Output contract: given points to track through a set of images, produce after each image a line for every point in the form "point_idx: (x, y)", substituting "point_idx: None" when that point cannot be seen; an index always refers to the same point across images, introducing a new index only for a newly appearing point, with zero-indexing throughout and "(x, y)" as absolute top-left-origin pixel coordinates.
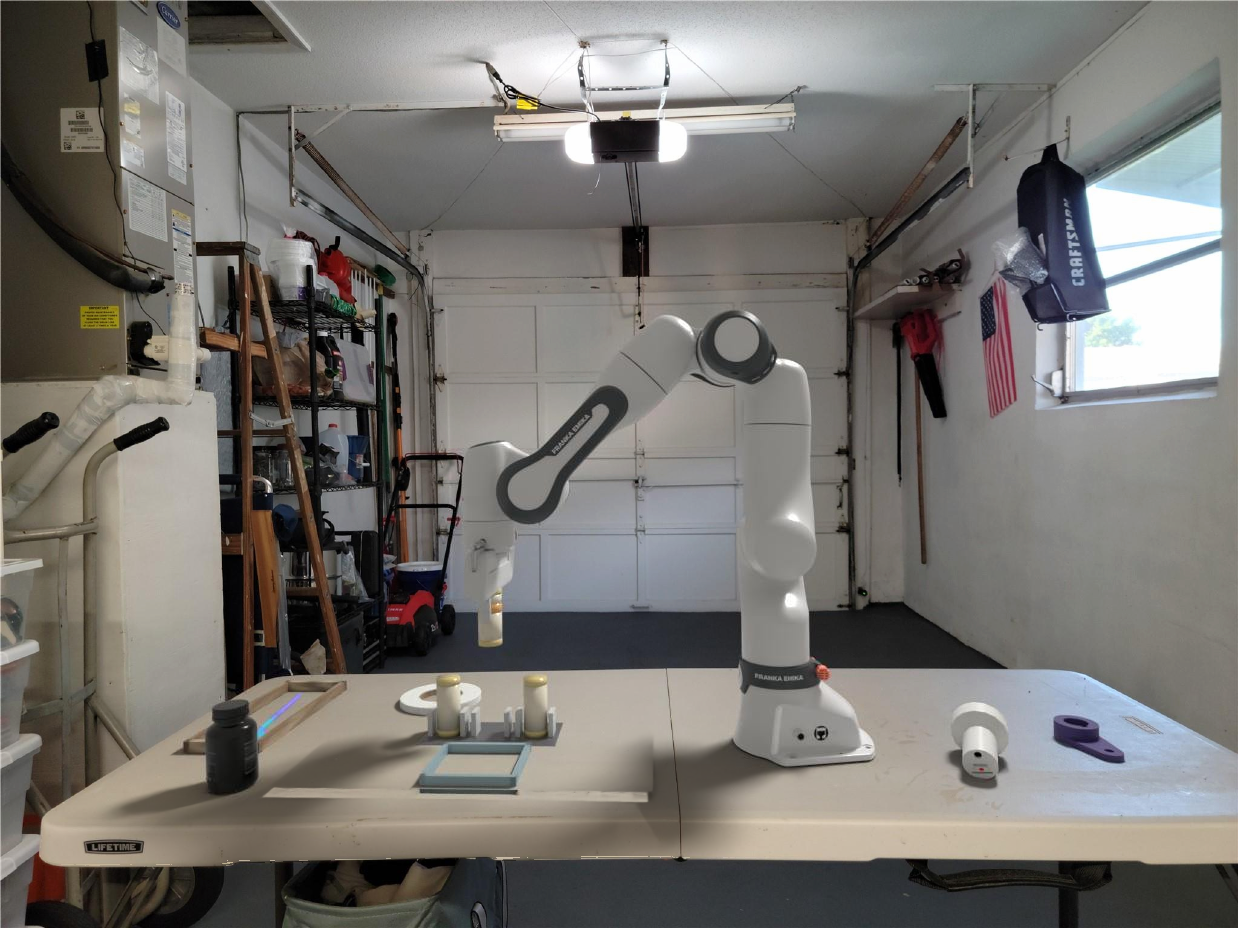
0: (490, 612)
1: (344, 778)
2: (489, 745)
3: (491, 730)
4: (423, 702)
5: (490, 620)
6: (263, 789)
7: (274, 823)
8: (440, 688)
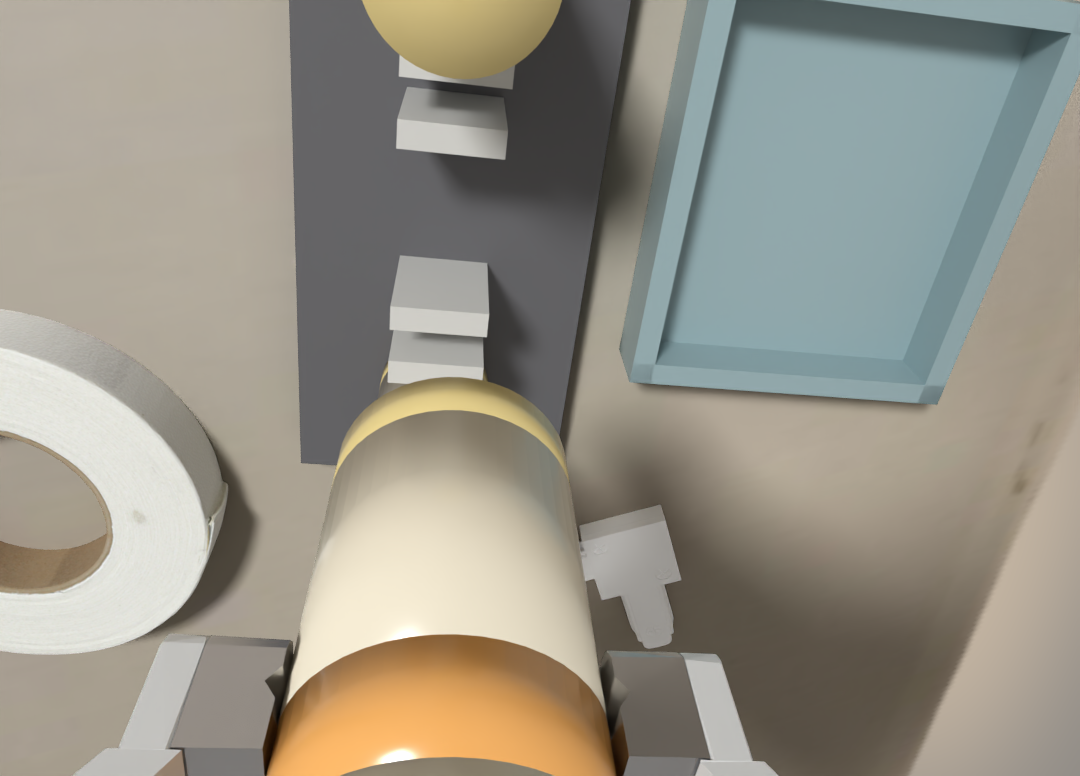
0: (747, 747)
1: (727, 599)
2: (692, 183)
3: (410, 200)
4: (133, 559)
5: (710, 657)
6: (749, 739)
7: (954, 657)
8: None
